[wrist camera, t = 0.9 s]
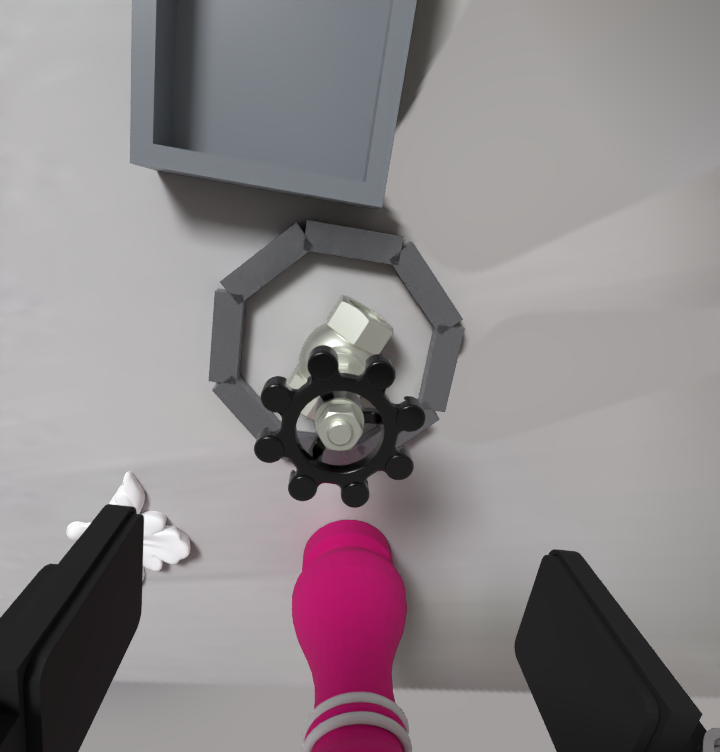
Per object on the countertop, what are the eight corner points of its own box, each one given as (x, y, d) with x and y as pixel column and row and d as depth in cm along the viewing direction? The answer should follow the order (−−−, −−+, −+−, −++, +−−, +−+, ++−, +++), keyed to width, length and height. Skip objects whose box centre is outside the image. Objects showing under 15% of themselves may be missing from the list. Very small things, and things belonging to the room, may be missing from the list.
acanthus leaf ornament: (133, 464, 31) (121, 479, 30) (209, 528, 33) (202, 546, 31) (58, 529, 32) (42, 547, 31) (136, 588, 34) (125, 608, 33)
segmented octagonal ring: (224, 205, 26) (220, 205, 25) (477, 249, 28) (483, 249, 27) (208, 442, 30) (204, 449, 29) (426, 468, 32) (429, 475, 31)
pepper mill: (305, 506, 32) (268, 910, 13) (406, 519, 33) (508, 918, 14) (289, 589, 34) (239, 1040, 16) (385, 600, 35) (448, 1040, 16)
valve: (262, 366, 29) (218, 461, 18) (318, 275, 28) (309, 314, 16) (352, 418, 30) (365, 536, 19) (410, 334, 29) (461, 408, 18)
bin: (164, -138, 21) (134, -204, 18) (422, -75, 23) (437, -125, 19) (156, 170, 25) (129, 163, 22) (375, 209, 26) (382, 207, 23)
